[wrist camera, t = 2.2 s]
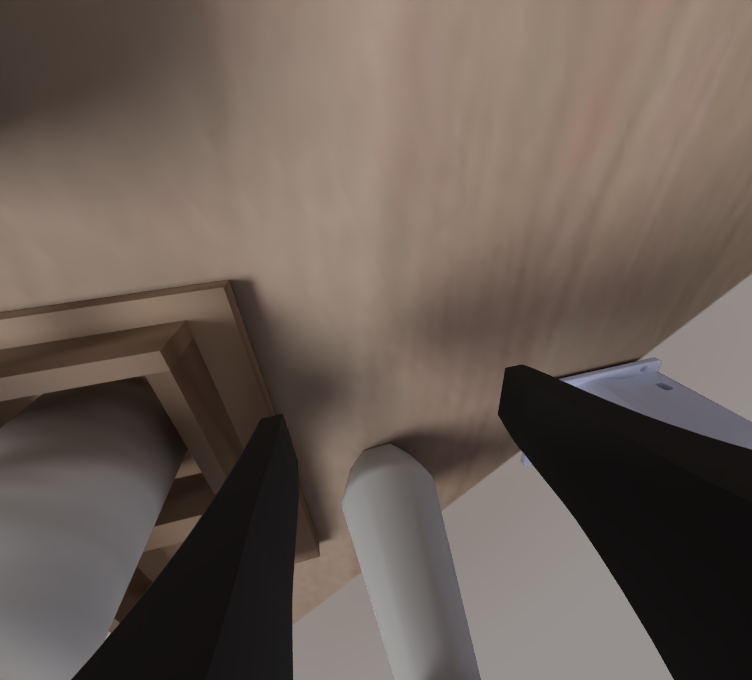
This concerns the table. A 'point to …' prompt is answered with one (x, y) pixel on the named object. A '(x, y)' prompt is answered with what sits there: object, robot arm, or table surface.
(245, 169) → the table surface
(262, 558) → the robot arm
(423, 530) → the salt shaker
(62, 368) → the wooden condiment caddy
